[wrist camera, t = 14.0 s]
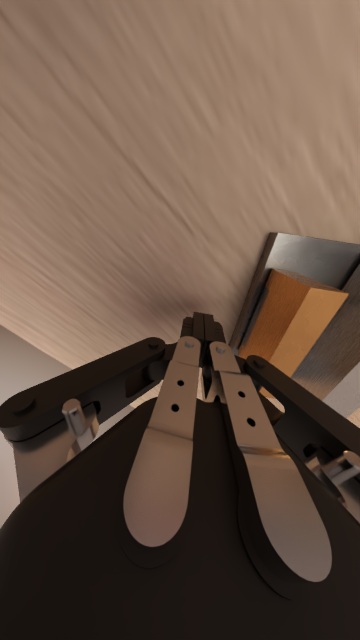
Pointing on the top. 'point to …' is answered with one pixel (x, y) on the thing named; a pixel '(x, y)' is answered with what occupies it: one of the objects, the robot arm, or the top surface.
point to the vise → (297, 269)
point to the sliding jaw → (310, 336)
